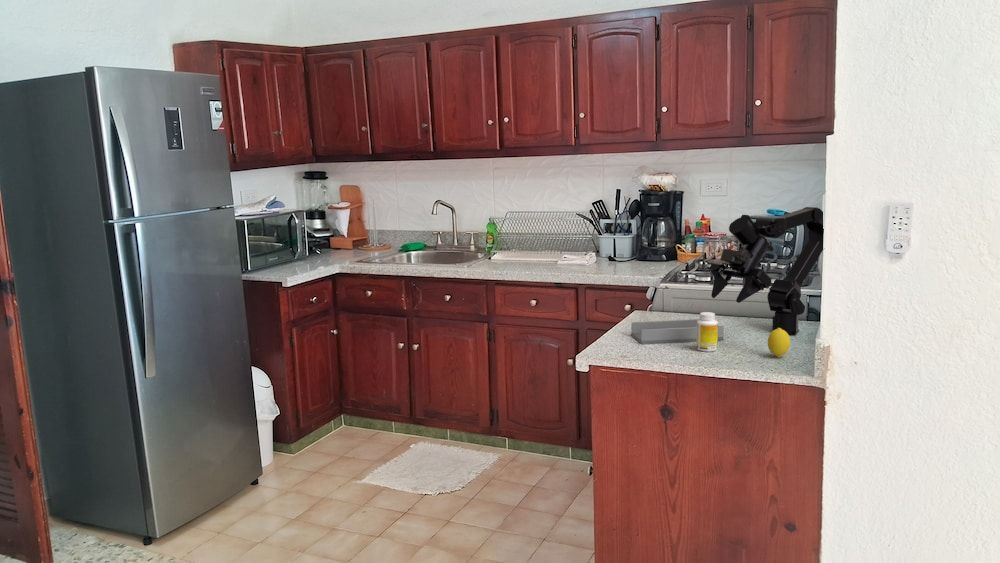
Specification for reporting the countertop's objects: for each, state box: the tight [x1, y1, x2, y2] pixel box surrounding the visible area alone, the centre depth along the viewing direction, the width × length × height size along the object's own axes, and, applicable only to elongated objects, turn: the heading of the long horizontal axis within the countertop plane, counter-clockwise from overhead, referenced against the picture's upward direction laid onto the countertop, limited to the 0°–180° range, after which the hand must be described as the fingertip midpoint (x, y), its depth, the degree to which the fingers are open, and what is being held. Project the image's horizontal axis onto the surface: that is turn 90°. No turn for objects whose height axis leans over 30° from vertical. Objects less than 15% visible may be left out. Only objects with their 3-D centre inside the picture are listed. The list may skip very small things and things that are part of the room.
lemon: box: [767, 328, 791, 358], centre depth 206 cm, size 6×6×8 cm
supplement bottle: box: [696, 311, 719, 353], centre depth 215 cm, size 6×6×10 cm
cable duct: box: [630, 318, 724, 345], centre depth 231 cm, size 24×11×4 cm, turn 95°
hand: (724, 299), depth 219 cm, fingers open, 9 cm apart
